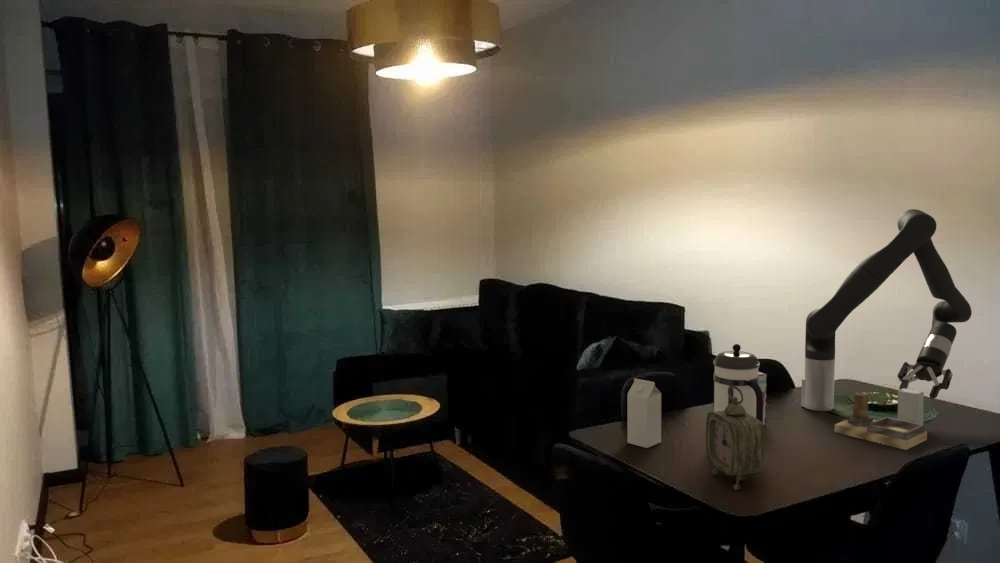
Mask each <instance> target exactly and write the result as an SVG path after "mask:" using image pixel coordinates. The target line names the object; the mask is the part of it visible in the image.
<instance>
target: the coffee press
mask: <svg viewBox="0 0 1000 563" xmlns="http://www.w3.org/2000/svg"><path fill="white" fill-rule="evenodd" d="M731 348H732V350H727V351H722V352H720V353H718V354H717V355H716V357H715V358H714V359H713V363H712V364H713V365H714V372H713V412H717V411H725V408H726V407H727V406H728V405H729V404H732V403H733V401H731V399H730V398H729V396H728V388H729V387H730V386H736V387H738V388H739V389H740V390H741V391H742V394H743V402H742V403H741V404H740V405H742V406H743V407H744V409H745V411H746V413H747V414H749V415H751V416H753V417H755V418H756V419H758V420H760V421H761V422H762V423H763V395H762V391H761V389H760V387H759V375H758V371H759V368H760V365H761V363H760V361H759V359H758V357H757V356H756V355H754V354H753V353H751V352H748V351H742V350H741V349H742V347H741V345H740V344H738V343H735V344H733V346H732V347H731ZM730 395H731V397H732V398H734V397H737V398H738V400H737V401H741V395H740V393H739V392H738V390H736V389H734V388H731V389H730Z"/></svg>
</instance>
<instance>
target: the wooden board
mask: <svg viewBox="0 0 1000 563" xmlns="http://www.w3.org/2000/svg"><path fill="white" fill-rule="evenodd" d="M869 396H870V394H868V393H863V392H856V393H854V394H853V403H852V404H853V407H852V408H853V409H852V410H853V412H852V414H850V415H848V416H847V419H844V420H841V421H840V422H838V423H834V433H837V434H839V435H845V436H847V437H848V436H849V437H852V438H857V439H861V440H864V439H865V440H864V441H869V442H872V443H876V442H877V443H876V444H880V443H881V444H880V445H885V446H888V447H893V448H897V449H901V450H905V451H907V450H909V449H911V448H913V447H915V446H917V445H919V444H921V443H923V442H925V441H927V440H928V431H927V430H925V428H926V426H925V424H923V425H921V424H917V423H912V422H908V421H903V420H899V419H898V418H892V417H889V416H883V417H882V418H879V419H875V418H874V417H873V416H871V415H869Z"/></svg>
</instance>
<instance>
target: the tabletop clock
mask: <svg viewBox="0 0 1000 563" xmlns="http://www.w3.org/2000/svg"><path fill="white" fill-rule="evenodd" d="M731 388H734V389H736V390H738V392H739V393H740V395H741V401H737V400H738V398H737V397H734V398H732V397H731V395H730V389H731ZM728 396H729V398H730V399H731V401H733V403H732V404H729V405H728V406H727V407H726V408H725V411H717V412H714V411H710V412H708V413H707V417H706V424H705V447H706V449H705V450H706V455H707V457H706V458H707V460H708V462H710V464H711V465H712V466H713V467H714V468H713V469H712V470H711V474H712V475H714V476H717V475H719V472H721V473H723V474H725V475H726V476H735V484H734V485H733V490H735V491H736V490H738V491H740V490H741V485H740V484H739V483H740V481H741V480H744V481H746V476H745V474H754V473H760V471H762V469H764V466H765V464H766V462H765V461H766V452H767V451H766V449H767V446H766V440H767V439H766V438H767V437H766V428H765V425H764V424H763V423H762V422H761V421H760V420H758V419H756V418H755V417H753V416H751V415H749V414H747V413H746V411H745V409H744V407H743V406H742V405H740V404H741V403H742V402H743V394H742V391H741V390H740V389H739V388H738V387H736V386H730V387H729V388H728Z"/></svg>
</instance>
